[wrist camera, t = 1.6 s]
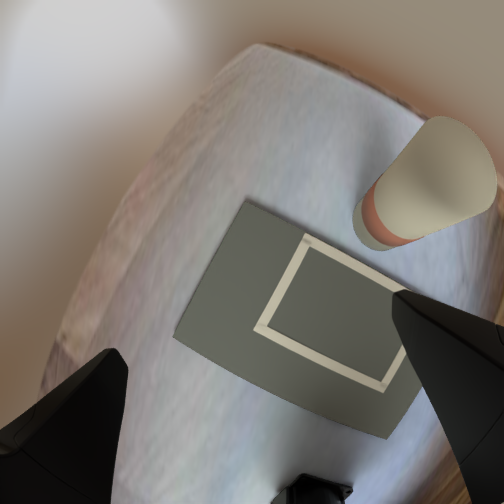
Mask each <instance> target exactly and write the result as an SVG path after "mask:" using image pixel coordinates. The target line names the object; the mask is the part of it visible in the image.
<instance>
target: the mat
mask: <svg viewBox="0 0 504 504" xmlns="http://www.w3.org/2000/svg"><path fill="white" fill-rule="evenodd" d="M402 289H407V290H410V289H409V288H407V287H405V286H403V285H402V284H400V283H398V282H397V281H395V280H393V279H391V278H390V277H388V276H386V275H384V274H383V273H381V272H379V271H377V270H376V269H374V268H372V267H370V266H368V265H367V264H365V263H363V262H361V261H359V260H358V259H356V258H354V257H352V256H350V255H348V254H347V253H345V252H343V251H341V250H339V249H337V248H335V247H334V246H332V245H330V244H328V243H326V242H324V241H322V240H320V239H319V238H317V237H315V236H313V235H311V234H309V233H307V232H305V231H303V230H301V229H299V228H297V227H295V226H294V225H292V224H290V223H288V222H286V221H284V220H282V219H280V218H278V217H276V216H274V215H272V214H270V213H268V212H266V211H264V210H262V209H260V208H258V207H256V206H254V205H252V204H250V203H248V202H244V204H243V206H242V207H241V209H240V211H239V213H238V215H237V216H236V218H235V220H234V222H233V224H232V225H231V227H230V229H229V231H228V233H227V234H226V236H225V238H224V240H223V242H222V244H221V245H220V247H219V249H218V251H217V253H216V255H215V256H214V258H213V260H212V262H211V264H210V266H209V268H208V270H207V271H206V273H205V275H204V277H203V279H202V281H201V283H200V285H199V286H198V288H197V290H196V292H195V294H194V296H193V298H192V300H191V302H190V304H189V306H188V307H187V309H186V311H185V313H184V315H183V317H182V319H181V321H180V323H179V325H178V327H177V329H176V331H175V333H174V335H173V338H175V339H176V340H178V341H179V342H181V343H183V344H184V345H186V346H187V347H189V348H191V349H192V350H194V351H195V352H197V353H199V354H200V355H202V356H204V357H205V358H207V359H209V360H211V361H212V362H214V363H216V364H217V365H219V366H221V367H223V368H224V369H226V370H228V371H230V372H232V373H233V374H235V375H237V376H239V377H241V378H243V379H245V380H246V381H248V382H250V383H252V384H254V385H256V386H258V387H260V388H262V389H264V390H266V391H268V392H270V393H272V394H274V395H276V396H278V397H280V398H282V399H285V400H287V401H289V402H291V403H293V404H295V405H298V406H300V407H302V408H304V409H307V410H309V411H311V412H314V413H316V414H318V415H321V416H323V417H326V418H328V419H330V420H333V421H335V422H338V423H341V424H343V425H346V426H349V427H351V428H354V429H357V430H359V431H362V432H365V433H368V434H371V435H374V436H377V437H380V438H383V439H386V440H387V439H388V437H389V436H390V434H391V433H392V432H393V430H394V429H395V428H396V426H397V425H398V423H399V422H400V420H401V419H402V418H403V416H404V415H405V413H406V412H407V410H408V408H409V407H410V405H411V404H412V402H413V401H414V399H415V397H416V396H417V394H418V393H419V391H420V389H421V387H422V384H421V382H420V380H419V378H418V376H417V374H416V372H415V370H414V369H413V367H412V365H411V363H410V361H409V359H408V356H407V354H406V352H405V349H404V347H403V344H402V342H401V339H400V337H399V335H398V332H397V330H396V328H395V325H394V323H393V320H392V295H393V293H394V292H396V291H399V290H402ZM410 291H412V290H410ZM412 292H414V291H412Z"/></svg>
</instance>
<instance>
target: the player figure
mask: <svg viewBox="0 0 504 504" xmlns="http://www.w3.org/2000/svg"><path fill="white" fill-rule="evenodd" d="M496 191H497V177H496V171H495V167H494V164H493V161H492V159H491V156H490V154H489V152H488V150H487V148H486V147H485V145H484V144H483V142H482V141H481V139H480V138H479V137H478V136H477V135H476V134H475V133H474V132H473V131H472V130H471V129H470V128H469V127H467V126H466V125H465V124H463V123H461V122H460V121H458V120H456V119H453V118H450V117H446V116H437V117H433V118H430V119H429V120H427V121H426V122H425V123H424V124H423V125H422V127H421V128H420V129H419V131H418V132H417V133H416V134H415V136H414V137H413V138H412V139H411V141H410V142H409V143H408V144H407V146H406V147H405V148H404V149H403V151H402V152H401V153H400V154H399V155H398V157H397V158H396V159H395V160H394V162H393V163H392V164H391V165H390V166H389V168H388V169H387V170H386V171H385V172H384V173H383V174H382V175H381V176H380V177H379V178H378V180H377V181H376V182H375V183H374V184H373V186H372V187H371V188H370V189H369V190H368V191H367V193H366V194H365V196H364V197H363V198H362V199H361V201H360V202H359V203H358V204H357V206H356V208H355V210H354V213H353V227H354V231H355V233H356V235H357V237H358V238H359V240H360V241H361V242H362V243H363V244H364V245H365V246H367V247H368V248H370V249H373V250H376V251H386V250H389V249H392V248H395V247H397V246H402V245H405V244H407V243H410V242H413V241H415V240H418V239H420V238H423V237H424V236H426V235H429V234H431V233H434V232H436V231H439V230H441V229H444V228H446V227H449V226H451V225H454V224H456V223H459V222H461V221H463V220H466V219H468V218H470V217H473V216H475V215H478V214H480V213H482V212H484V211H486V210H487V209H488V208H489V207H490V206H491V205H492V203H493V201H494V199H495V196H496Z"/></svg>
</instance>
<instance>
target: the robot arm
mask: <svg viewBox="0 0 504 504" xmlns="http://www.w3.org/2000/svg"><path fill="white" fill-rule="evenodd" d="M392 320H393V323H394V325H395V328H396V330H397V332H398V335H399V337H400V339H401V342H402V344H403V347H404V349H405V352H406V354H407V356H408V359H409V361H410V363H411V365H412V367H413V369H414V370H415V372H416V374H417V376H418V378H419V380H420V382H421V384H422V386H423V388H424V390H425V392H426V394H427V396H428V398H429V400H430V402H431V404H432V406H433V408H434V410H435V412H436V414H437V416H438V418H439V420H440V423H441V425H442V427H443V429H444V431H445V434H446V436H447V438H448V441H449V443H450V445H451V448H452V450H453V452H454V455H455V457H456V460H457V462H458V465H460V466H459V468H460V470H461V473H462V476H463V478H464V481H465V484H466V487H467V489H468V492H469V495H470V498H471V501H472V504H501V503H503V502H504V327H503V326H501V325H498V324H496V325H495V323H493V322H490V321H488V320H485V319H483V318H480V317H478V316H475V315H473V314H470V313H467V312H465V311H462V310H460V309H457V308H454V307H452V306H449V305H447V304H444V303H441V302H439V301H436V300H433V299H431V298H428V297H426V296H423V295H420V294H418V293H415V292H412V291H410V290H407V289H402V290H399V291H396V292H394V293H393V295H392ZM127 380H128V366H127V364H126V363H125V361H124V359H123V358H122V356H121V355H120V353H119V352H118V350H117V349H115V348H108V349H104V350H103V351H102V352H100V353H99V354H98V355H96V356H95V357H94V358H93V359H91V360H90V361H89V362H87V363H86V364H85V365H84V366H82V367H81V368H80V369H79V370H77V371H76V372H75V373H73V374H72V375H71V376H70V377H68V378H67V379H66V380H65V381H63V382H62V383H61V384H59V385H58V386H57V387H56V388H54V389H53V390H52V391H51V392H49V393H48V394H47V395H46V396H44V397H43V398H42V399H41V400H39V401H38V402H37V403H36V404H34V405H33V406H32V407H31V408H29V409H28V410H27V411H25V412H24V413H23V414H22V415H20V416H19V417H17V418H16V419H15V420H13V421H12V422H11V423H9V424H8V425H6V426H5V427H3V428H2V429H1V430H0V504H111V494H112V485H113V476H114V468H115V461H116V454H117V448H118V441H119V435H120V430H121V424H122V419H123V414H124V407H125V398H126V388H127ZM302 478H305V479H302ZM348 490H349V491H348ZM352 492H353V488H352V487H350V486H346V485H342V484H338V483H334V482H331V481H327V480H324V479H320V478H317V477H314V476H311V475H308V474H301V475H299V476H298V477H297V478H296V479H295V481H294V482H293V483H292V484H291V485H290V486H288V487H286V488H285V489H284V490H283V491H282V492H281V493H280V494H279V495H278V496H277V497H276V498H275V499H274V501H273V503H272V504H345V501H344V500H345V499H346V498H347V497H348V496H349V495H350V494H351V493H352Z"/></svg>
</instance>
